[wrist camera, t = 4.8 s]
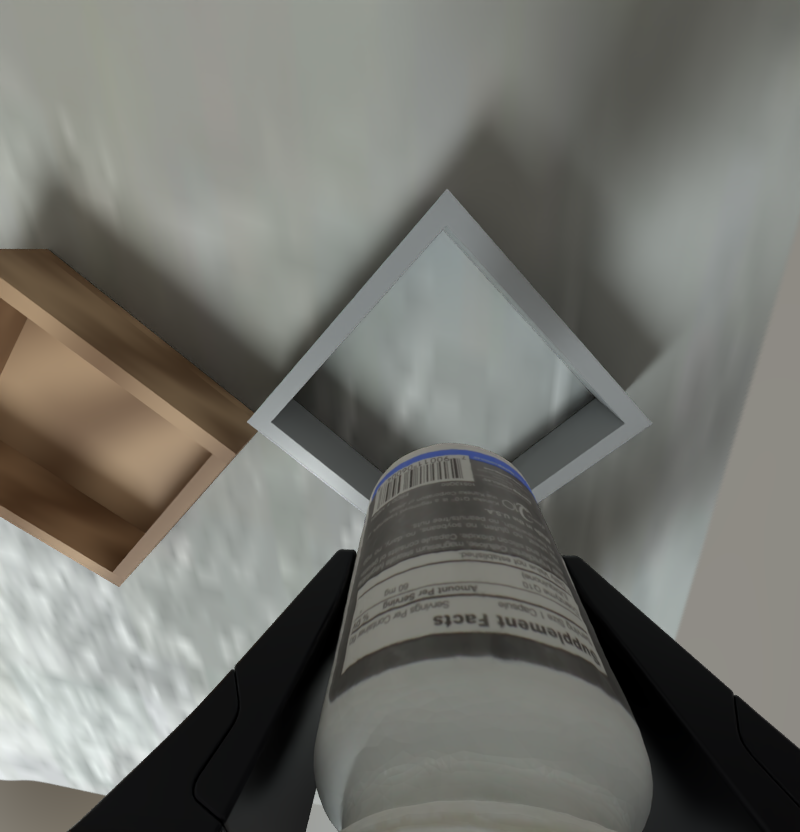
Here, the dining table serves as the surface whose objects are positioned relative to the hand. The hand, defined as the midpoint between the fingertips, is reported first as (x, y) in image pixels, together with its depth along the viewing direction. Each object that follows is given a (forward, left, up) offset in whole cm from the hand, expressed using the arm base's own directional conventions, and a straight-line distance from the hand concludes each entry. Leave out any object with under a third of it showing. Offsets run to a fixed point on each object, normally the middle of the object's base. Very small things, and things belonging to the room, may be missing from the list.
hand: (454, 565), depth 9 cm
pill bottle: (0, 0, -2) cm, 2 cm away
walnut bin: (+12, +14, -11) cm, 22 cm away
